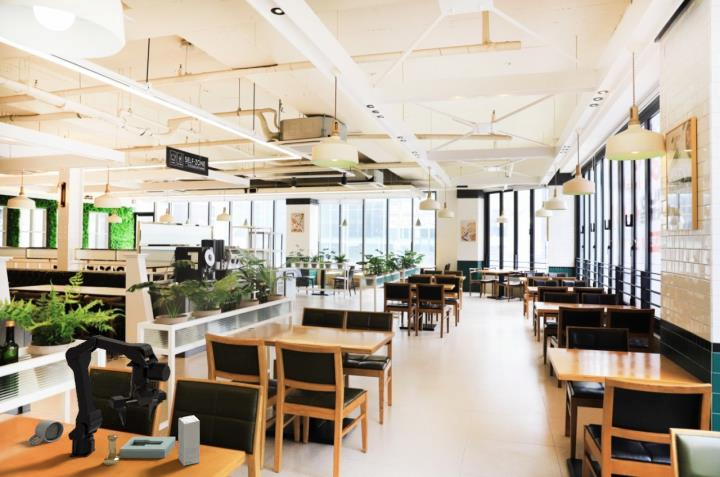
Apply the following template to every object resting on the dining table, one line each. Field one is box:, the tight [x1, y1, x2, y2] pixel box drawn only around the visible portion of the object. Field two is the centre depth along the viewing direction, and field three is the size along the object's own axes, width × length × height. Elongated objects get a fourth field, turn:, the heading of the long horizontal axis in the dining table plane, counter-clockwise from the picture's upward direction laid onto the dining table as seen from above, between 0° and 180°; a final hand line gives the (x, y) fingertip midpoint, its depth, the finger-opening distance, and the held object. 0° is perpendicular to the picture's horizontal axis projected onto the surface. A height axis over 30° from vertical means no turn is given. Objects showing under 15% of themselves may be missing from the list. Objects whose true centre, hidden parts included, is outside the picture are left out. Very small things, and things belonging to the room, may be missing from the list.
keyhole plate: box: [119, 436, 176, 459], centre depth 184 cm, size 16×12×3 cm
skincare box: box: [177, 415, 201, 467], centre depth 177 cm, size 8×6×15 cm
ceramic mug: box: [28, 419, 65, 446], centre depth 191 cm, size 11×8×8 cm
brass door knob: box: [103, 433, 120, 467], centre depth 174 cm, size 5×5×9 cm
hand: (137, 422), depth 178 cm, fingers open, 9 cm apart
